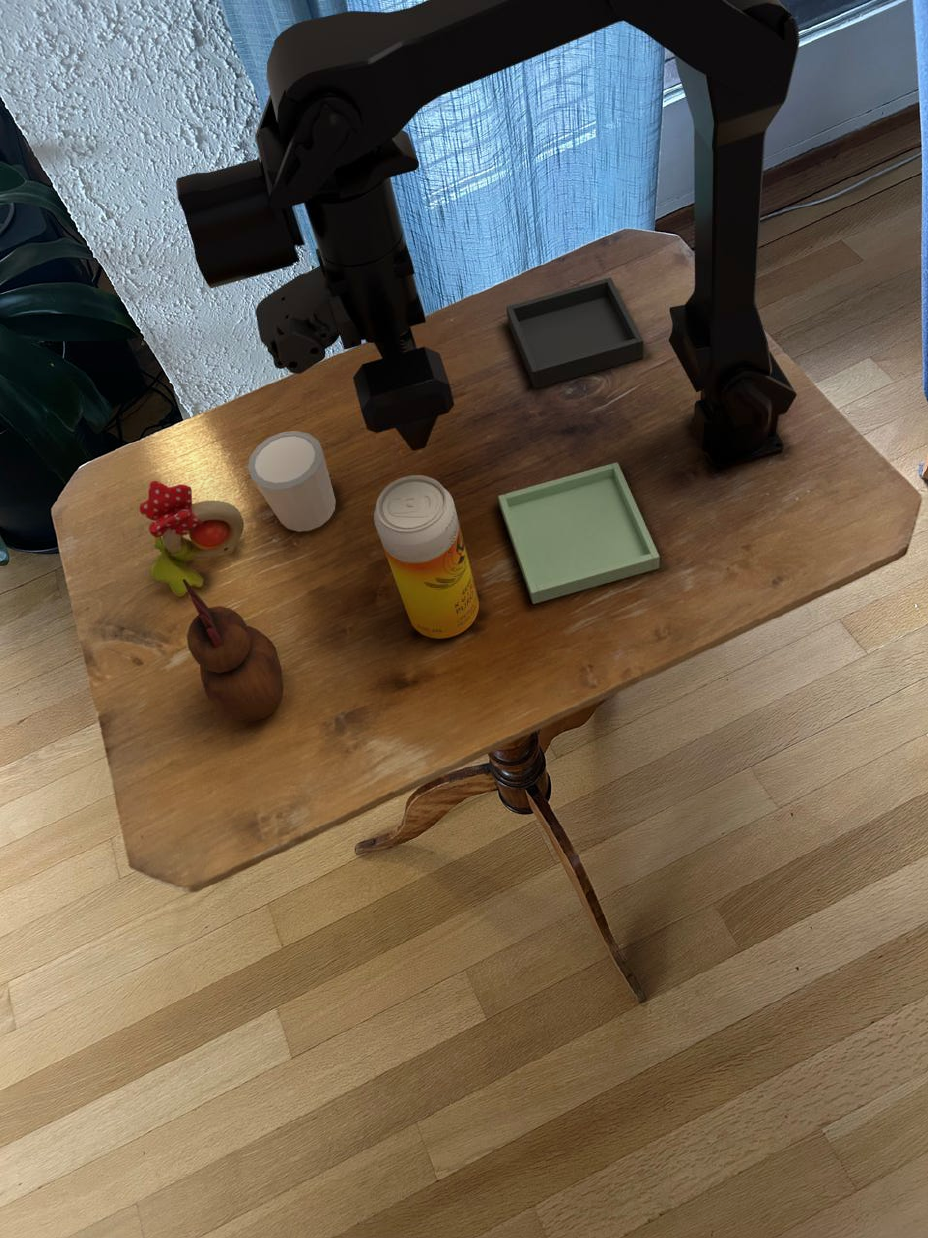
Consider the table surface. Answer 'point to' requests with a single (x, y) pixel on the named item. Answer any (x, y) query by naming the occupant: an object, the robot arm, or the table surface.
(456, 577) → the beer can
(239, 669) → the wooden figurine
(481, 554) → the table surface
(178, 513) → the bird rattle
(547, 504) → the sage tray
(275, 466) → the white cup
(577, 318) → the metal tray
